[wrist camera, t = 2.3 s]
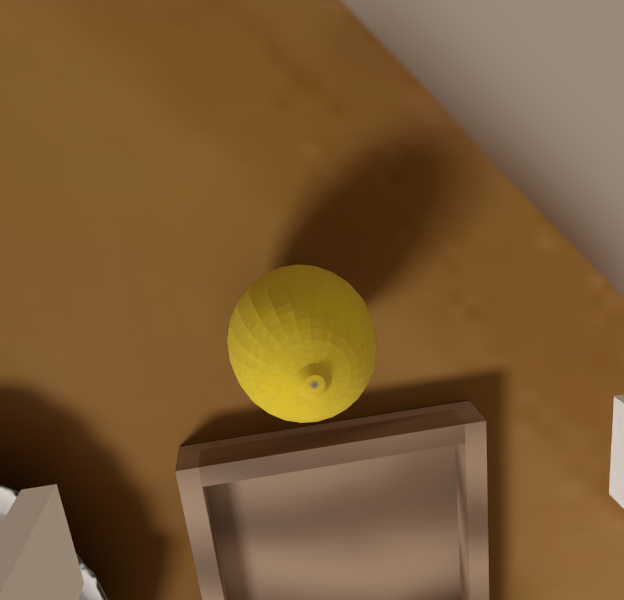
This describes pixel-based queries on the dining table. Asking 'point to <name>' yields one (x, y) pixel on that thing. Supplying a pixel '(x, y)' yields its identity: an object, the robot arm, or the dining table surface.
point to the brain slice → (92, 591)
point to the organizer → (343, 509)
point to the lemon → (302, 343)
